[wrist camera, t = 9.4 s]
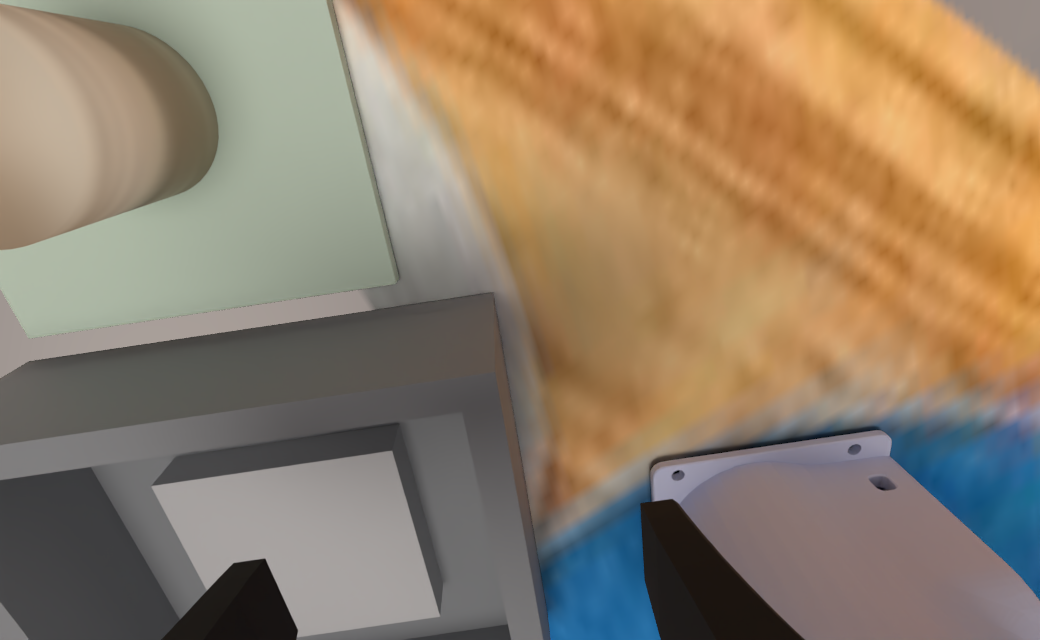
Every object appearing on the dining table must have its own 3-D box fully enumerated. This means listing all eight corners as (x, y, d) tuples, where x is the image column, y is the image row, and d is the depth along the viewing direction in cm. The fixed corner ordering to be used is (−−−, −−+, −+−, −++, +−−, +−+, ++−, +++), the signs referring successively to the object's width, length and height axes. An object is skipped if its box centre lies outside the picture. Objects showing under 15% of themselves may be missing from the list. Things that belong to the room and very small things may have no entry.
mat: (285, -191, 13) (276, -203, 12) (399, 277, 18) (396, 283, 17) (-206, -115, 13) (-237, -124, 12) (42, 330, 18) (28, 338, 17)
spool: (180, 11, 14) (3, -34, 9) (241, 185, 16) (124, 232, 11) (10, 37, 14) (-264, 8, 9) (90, 208, 16) (-99, 265, 11)
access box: (493, 292, 18) (495, 371, 13) (547, 613, 24) (562, 749, 19) (29, 361, 18) (-149, 467, 13) (205, 663, 25) (132, 811, 20)
